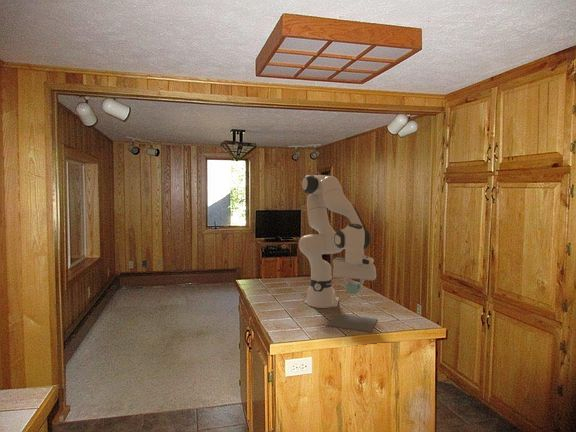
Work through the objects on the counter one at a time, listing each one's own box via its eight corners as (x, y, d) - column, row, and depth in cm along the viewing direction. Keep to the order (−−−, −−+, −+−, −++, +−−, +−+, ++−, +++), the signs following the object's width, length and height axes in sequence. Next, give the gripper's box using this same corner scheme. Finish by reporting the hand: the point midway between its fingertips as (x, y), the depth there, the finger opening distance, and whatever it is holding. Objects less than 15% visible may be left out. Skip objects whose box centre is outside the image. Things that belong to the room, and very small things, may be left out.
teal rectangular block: (346, 292, 177) (346, 285, 177) (351, 288, 186) (351, 281, 185) (355, 293, 176) (356, 286, 175) (360, 289, 184) (360, 282, 184)
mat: (336, 314, 193) (336, 313, 193) (377, 320, 186) (377, 319, 186) (326, 325, 177) (326, 324, 177) (370, 332, 169) (370, 331, 169)
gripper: (331, 257, 181) (330, 286, 181) (375, 261, 173) (374, 291, 174) (334, 255, 186) (334, 283, 187) (377, 259, 179) (376, 288, 180)
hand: (353, 287), depth 180 cm, fingers closed on teal rectangular block, 5 cm apart
